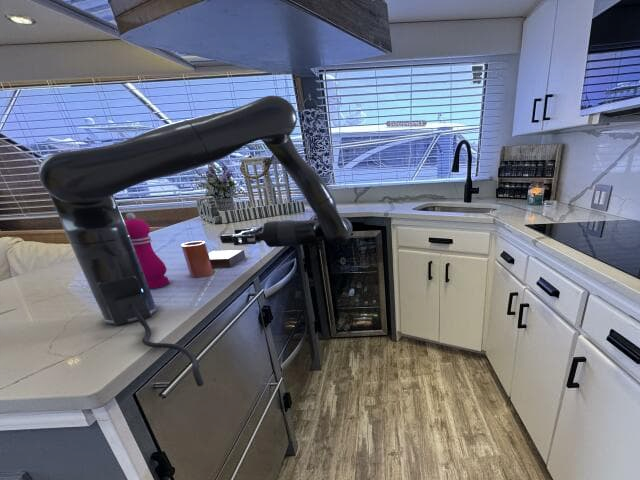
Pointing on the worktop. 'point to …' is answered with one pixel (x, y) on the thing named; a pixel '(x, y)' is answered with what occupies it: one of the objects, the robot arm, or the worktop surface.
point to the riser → (226, 258)
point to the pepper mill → (146, 252)
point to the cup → (197, 258)
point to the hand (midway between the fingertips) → (228, 236)
